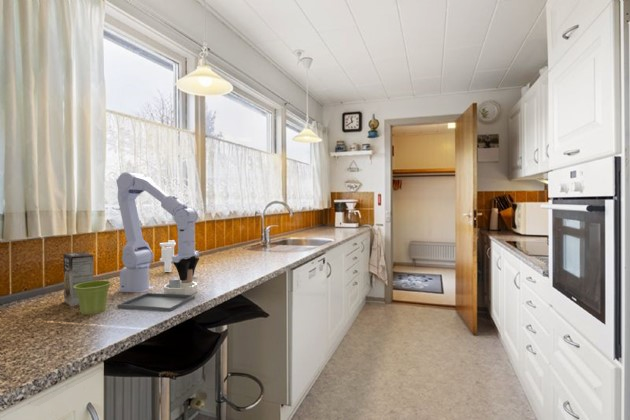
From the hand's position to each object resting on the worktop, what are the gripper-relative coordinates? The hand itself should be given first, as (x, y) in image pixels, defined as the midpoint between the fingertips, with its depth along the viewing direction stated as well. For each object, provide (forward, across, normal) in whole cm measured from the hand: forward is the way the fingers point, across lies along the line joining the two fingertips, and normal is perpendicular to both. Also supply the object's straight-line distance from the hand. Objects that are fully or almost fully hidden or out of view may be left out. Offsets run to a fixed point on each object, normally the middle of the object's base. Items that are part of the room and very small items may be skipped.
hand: (186, 278), depth 122 cm
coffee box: (+6, -16, +29) cm, 34 cm away
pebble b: (+1, 0, 0) cm, 1 cm away
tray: (+6, -13, +2) cm, 14 cm away
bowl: (+6, 0, +2) cm, 6 cm away
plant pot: (+6, -24, +16) cm, 30 cm away
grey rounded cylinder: (+5, 0, +5) cm, 7 cm away
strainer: (+6, +33, +29) cm, 45 cm away
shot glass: (+6, +25, +14) cm, 29 cm away
